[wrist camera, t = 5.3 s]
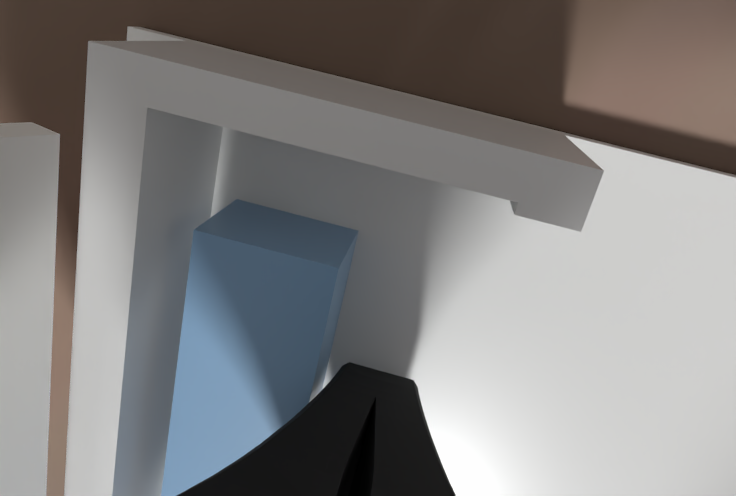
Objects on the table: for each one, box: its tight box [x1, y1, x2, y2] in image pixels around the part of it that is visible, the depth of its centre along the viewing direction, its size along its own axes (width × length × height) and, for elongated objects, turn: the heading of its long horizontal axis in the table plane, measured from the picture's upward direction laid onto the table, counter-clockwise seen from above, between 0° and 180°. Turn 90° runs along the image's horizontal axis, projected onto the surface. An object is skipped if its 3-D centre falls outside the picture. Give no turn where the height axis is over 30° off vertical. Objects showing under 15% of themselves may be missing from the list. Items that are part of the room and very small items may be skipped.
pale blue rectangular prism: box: [161, 199, 358, 496], centre depth 11 cm, size 2×7×2 cm, turn 167°
